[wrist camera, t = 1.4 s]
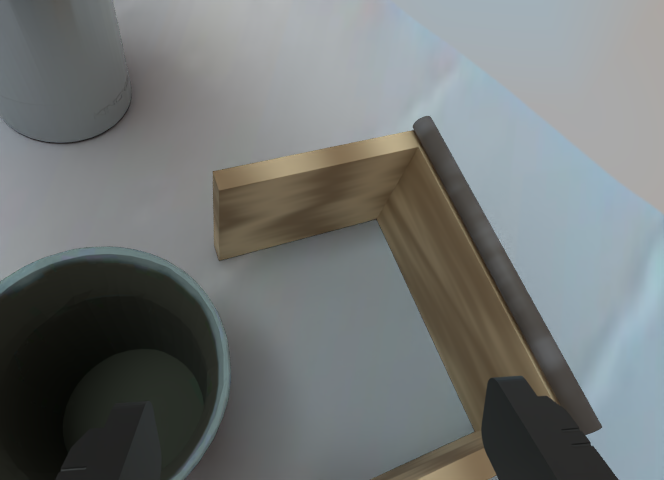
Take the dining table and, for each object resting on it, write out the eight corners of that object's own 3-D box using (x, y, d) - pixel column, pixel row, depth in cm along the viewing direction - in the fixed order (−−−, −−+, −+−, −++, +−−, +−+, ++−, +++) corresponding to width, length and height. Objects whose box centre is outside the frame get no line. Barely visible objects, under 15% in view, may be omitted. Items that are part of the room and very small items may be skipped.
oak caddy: (307, 534, 28) (349, 555, 19) (214, 245, 34) (212, 158, 25) (498, 443, 32) (607, 425, 23) (384, 202, 38) (434, 114, 30)
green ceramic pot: (135, 297, 32) (93, 201, 21) (262, 396, 30) (285, 346, 20) (-6, 438, 27) (-151, 404, 16) (139, 561, 26) (85, 610, 15)
